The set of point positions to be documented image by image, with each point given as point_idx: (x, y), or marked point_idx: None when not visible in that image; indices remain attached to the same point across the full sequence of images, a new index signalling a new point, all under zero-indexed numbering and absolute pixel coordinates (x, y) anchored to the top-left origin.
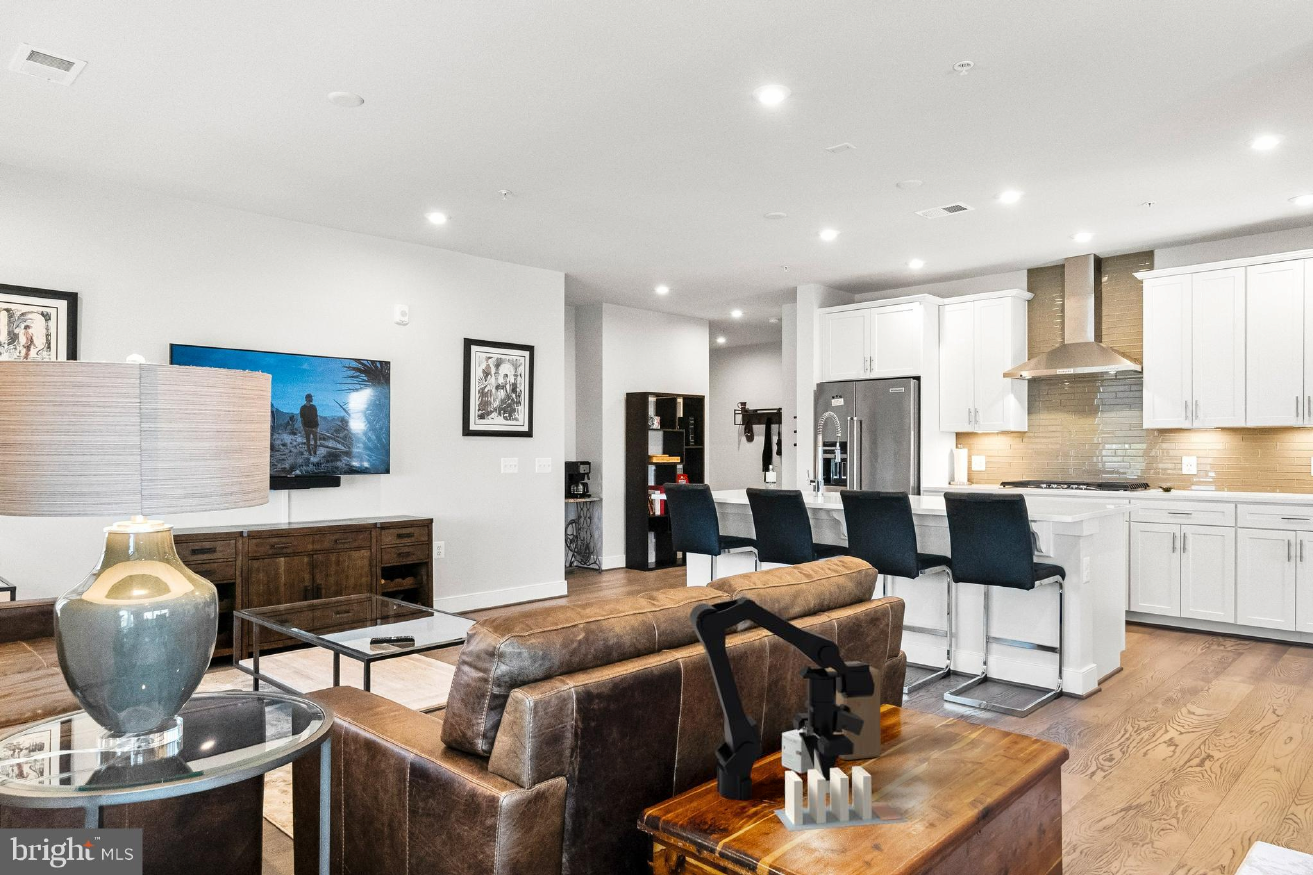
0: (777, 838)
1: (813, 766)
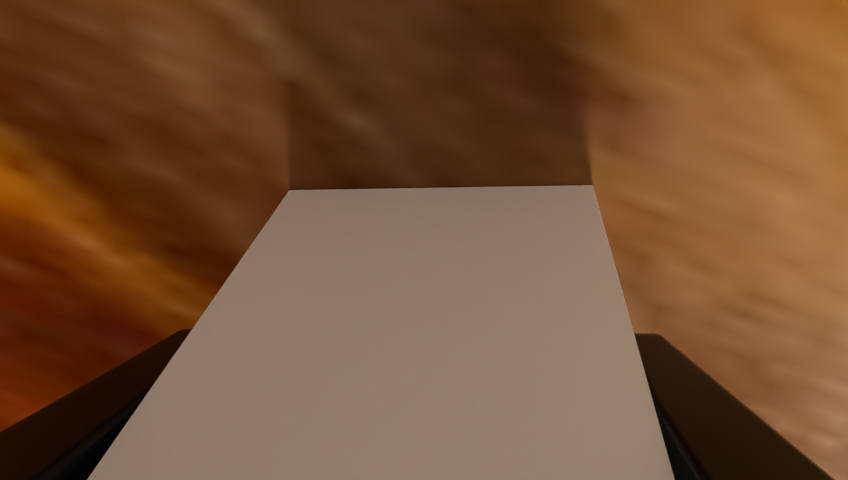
0: None
1: None
